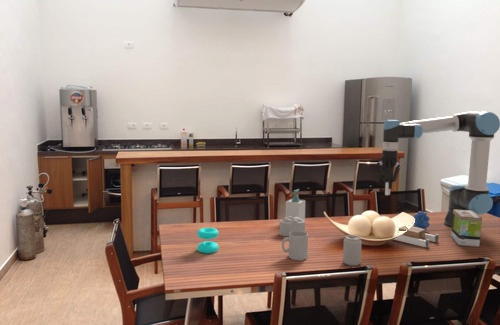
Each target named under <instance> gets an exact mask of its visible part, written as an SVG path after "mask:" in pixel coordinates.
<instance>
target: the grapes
mask: <svg viewBox="0 0 500 325" xmlns="http://www.w3.org/2000/svg"><path fill="white" fill-rule="evenodd" d="M413 218H414V219H415V223H414V224H413V227H417V228H421V229H425V232H426V231H427V230H428V227H430V222H429V221H430V216H428V214H427V212H425V211H423V212H422V211H421V210H419V211H417V213H415V214H414V215H413Z"/></svg>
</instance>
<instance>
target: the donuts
mask: <svg viewBox="0 0 500 325" xmlns="http://www.w3.org/2000/svg"><path fill="white" fill-rule="evenodd" d="M196 235H197V237H198V238H200V239H203V240H207V241H202V242H200V243H199V244H198V245H197V246H196V249H197V251H198V252H199V253H201V252H202V253H201V254H214V253H216V252H218V250H219V248H220V247H219V244H218V243H217V242H214V241H208V240H211V239H216V238H218V236H219V230H218V229H217V228H215V227H202V228H199V229H198V230H197V232H196ZM213 252H214V253H213Z"/></svg>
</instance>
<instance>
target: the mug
mask: <svg viewBox="0 0 500 325" xmlns="http://www.w3.org/2000/svg"><path fill="white" fill-rule="evenodd" d="M286 242H288V248H285V243H286ZM308 249H309V233H308V232H306V231H305V232H304V231H292V232H290V233H289V237H284V238H283V239H282V241H281V250H282V251H283V253H287V254H288V257H289V259H290V258H291V259H290V260H293V259H294V260H293V261H305V260H307V259H308V257H309V254H308V253H309V251H308ZM304 259H305V260H304Z"/></svg>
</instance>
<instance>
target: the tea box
mask: <svg viewBox="0 0 500 325" xmlns="http://www.w3.org/2000/svg"><path fill="white" fill-rule="evenodd" d="M482 224H483V217H482V215H478V214H477V213H475V212H474V211H471V210H453V217H452V226H451V231H450V232H451V233H450V237H451V238H452V239H453V240H454V241H455V243H456V244H457V245H458V246H465V247H466V246H467V247H480V243H481V232H482Z"/></svg>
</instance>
